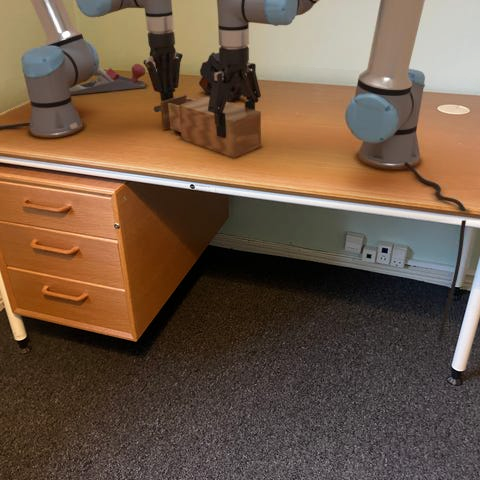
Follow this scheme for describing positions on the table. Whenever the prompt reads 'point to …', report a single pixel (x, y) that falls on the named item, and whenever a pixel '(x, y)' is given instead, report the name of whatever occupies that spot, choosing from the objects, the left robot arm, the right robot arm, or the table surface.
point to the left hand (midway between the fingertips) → (168, 113)
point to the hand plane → (111, 81)
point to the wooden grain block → (205, 133)
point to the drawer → (172, 111)
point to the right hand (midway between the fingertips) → (235, 130)
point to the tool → (206, 80)
